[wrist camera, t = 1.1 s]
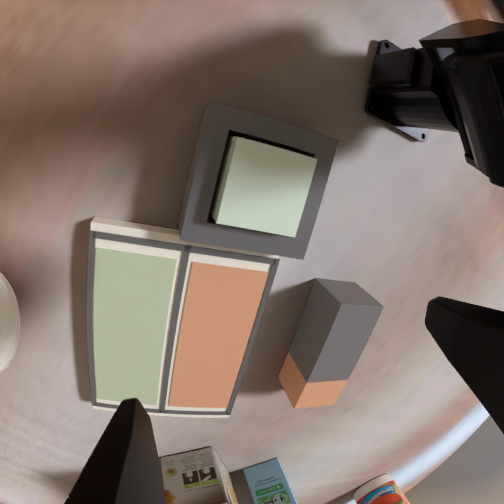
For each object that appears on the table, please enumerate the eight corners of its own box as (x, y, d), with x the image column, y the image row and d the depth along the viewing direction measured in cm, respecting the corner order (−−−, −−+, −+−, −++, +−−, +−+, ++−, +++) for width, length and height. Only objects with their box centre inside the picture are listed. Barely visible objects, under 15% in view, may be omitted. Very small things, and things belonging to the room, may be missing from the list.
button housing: (315, 138, 19) (338, 140, 17) (285, 243, 21) (303, 259, 19) (205, 107, 17) (212, 101, 14) (177, 224, 19) (180, 240, 16)
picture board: (275, 245, 21) (281, 252, 20) (225, 408, 26) (228, 418, 25) (95, 216, 17) (90, 222, 16) (94, 398, 22) (92, 409, 21)
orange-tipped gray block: (355, 282, 25) (383, 306, 21) (315, 375, 28) (334, 404, 24) (315, 277, 23) (341, 303, 20) (277, 377, 26) (293, 408, 23)
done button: (298, 155, 18) (317, 159, 16) (279, 224, 19) (295, 237, 17) (227, 136, 16) (237, 136, 14) (209, 211, 18) (216, 223, 15)
